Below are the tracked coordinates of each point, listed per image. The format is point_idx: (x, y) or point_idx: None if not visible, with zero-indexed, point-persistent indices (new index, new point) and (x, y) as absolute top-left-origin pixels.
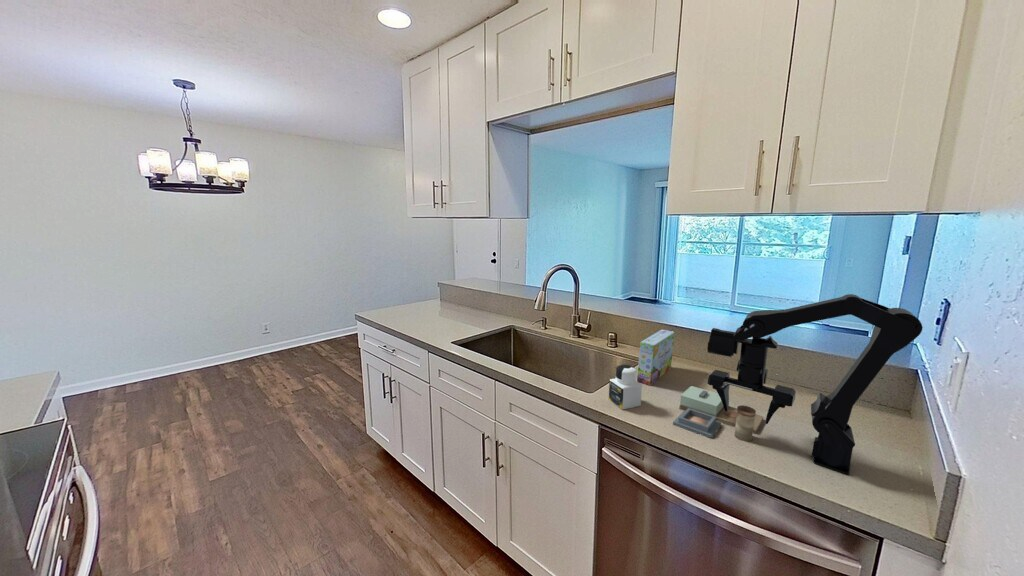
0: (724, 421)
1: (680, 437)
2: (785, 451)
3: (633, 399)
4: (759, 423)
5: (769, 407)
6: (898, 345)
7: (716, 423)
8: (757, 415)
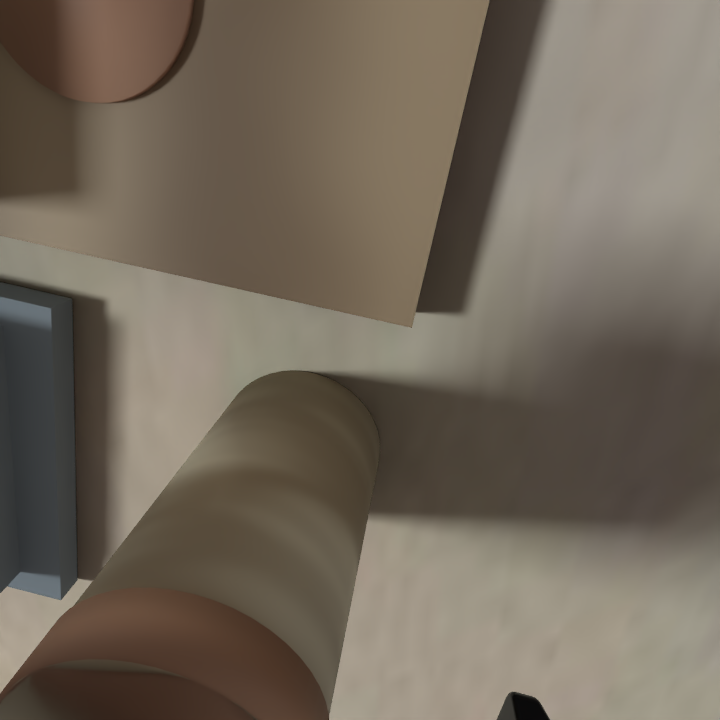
0: (72, 244)
1: None
2: (672, 527)
3: None
4: (471, 72)
5: None
6: None
7: (19, 362)
8: None
